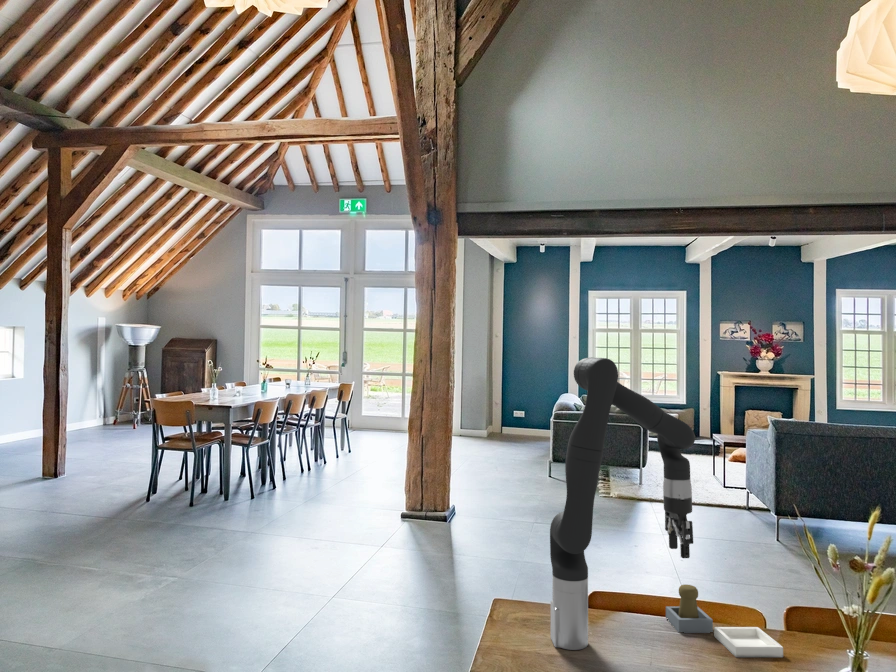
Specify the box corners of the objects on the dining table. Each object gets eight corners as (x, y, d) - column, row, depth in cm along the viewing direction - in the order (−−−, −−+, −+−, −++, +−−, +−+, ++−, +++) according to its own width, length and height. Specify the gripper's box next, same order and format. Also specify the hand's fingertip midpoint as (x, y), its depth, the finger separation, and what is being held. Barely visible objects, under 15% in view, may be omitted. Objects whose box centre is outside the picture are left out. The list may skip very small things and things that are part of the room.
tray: (736, 657, 154) (735, 646, 154) (714, 636, 166) (714, 626, 166) (783, 657, 154) (783, 647, 154) (758, 636, 166) (757, 627, 166)
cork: (702, 631, 169) (701, 590, 170) (679, 629, 170) (678, 588, 171) (697, 622, 175) (697, 583, 176) (675, 620, 176) (675, 581, 177)
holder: (678, 632, 168) (678, 619, 168) (665, 618, 177) (665, 606, 177) (712, 632, 168) (712, 619, 168) (698, 618, 177) (697, 606, 178)
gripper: (655, 489, 179) (656, 546, 179) (673, 500, 165) (675, 561, 164) (680, 489, 180) (682, 545, 179) (701, 499, 165) (703, 561, 164)
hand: (679, 553), depth 172 cm, fingers open, 8 cm apart
